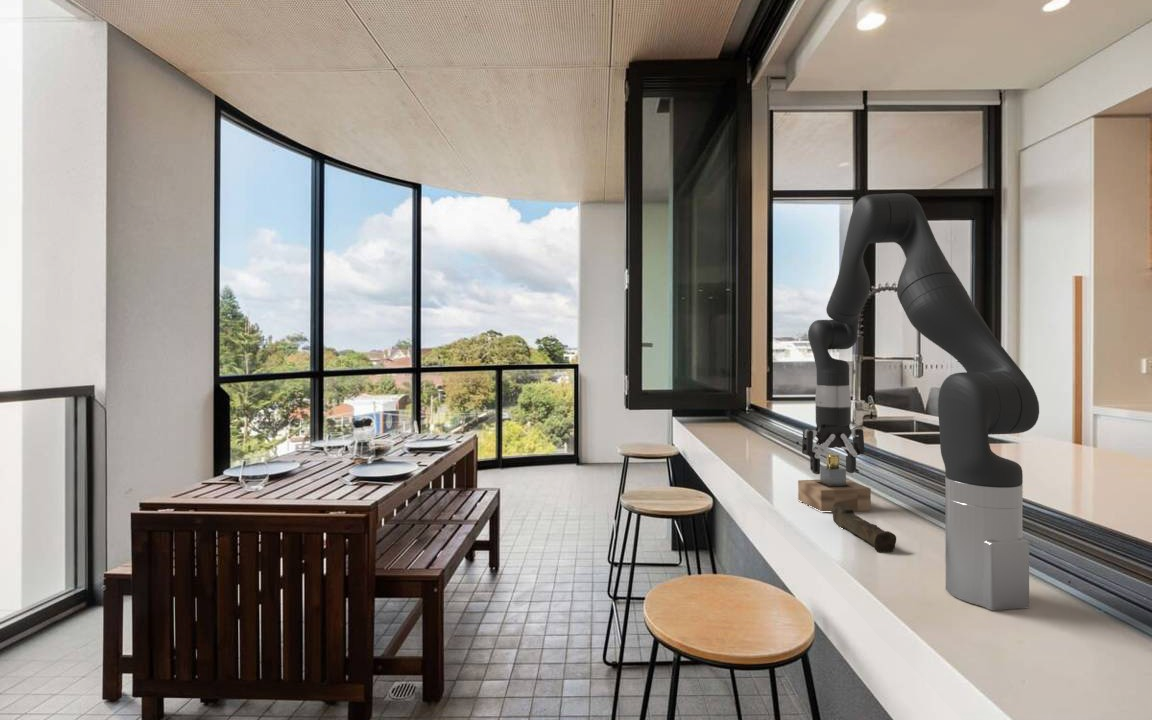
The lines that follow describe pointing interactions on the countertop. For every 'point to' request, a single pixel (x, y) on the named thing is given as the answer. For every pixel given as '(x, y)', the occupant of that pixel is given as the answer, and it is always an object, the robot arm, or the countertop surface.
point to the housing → (834, 495)
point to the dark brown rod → (863, 528)
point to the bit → (832, 473)
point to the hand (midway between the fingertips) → (833, 473)
